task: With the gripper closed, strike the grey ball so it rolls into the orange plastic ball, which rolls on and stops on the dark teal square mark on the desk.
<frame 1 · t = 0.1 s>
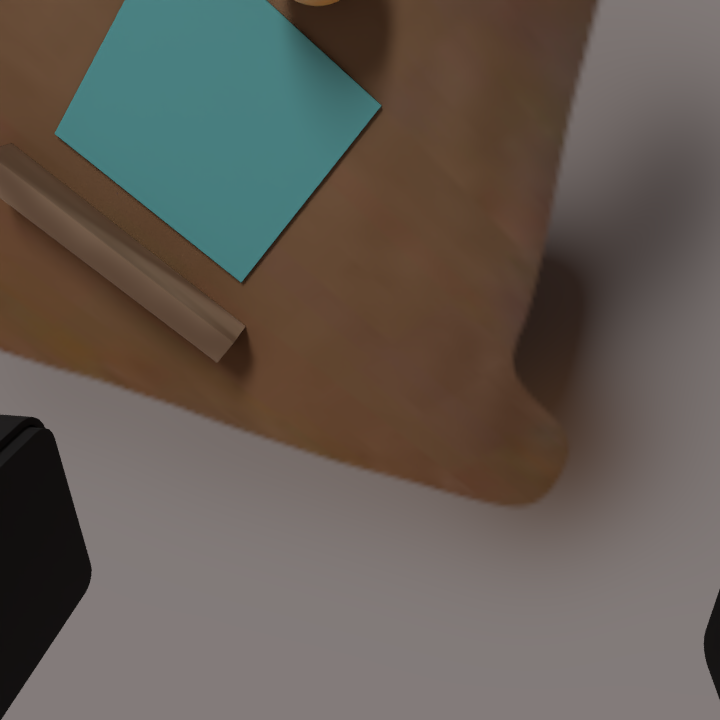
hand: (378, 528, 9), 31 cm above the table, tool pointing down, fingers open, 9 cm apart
teal mark: (211, 119, 38), on the table
wooden bar: (126, 249, 42), on the table
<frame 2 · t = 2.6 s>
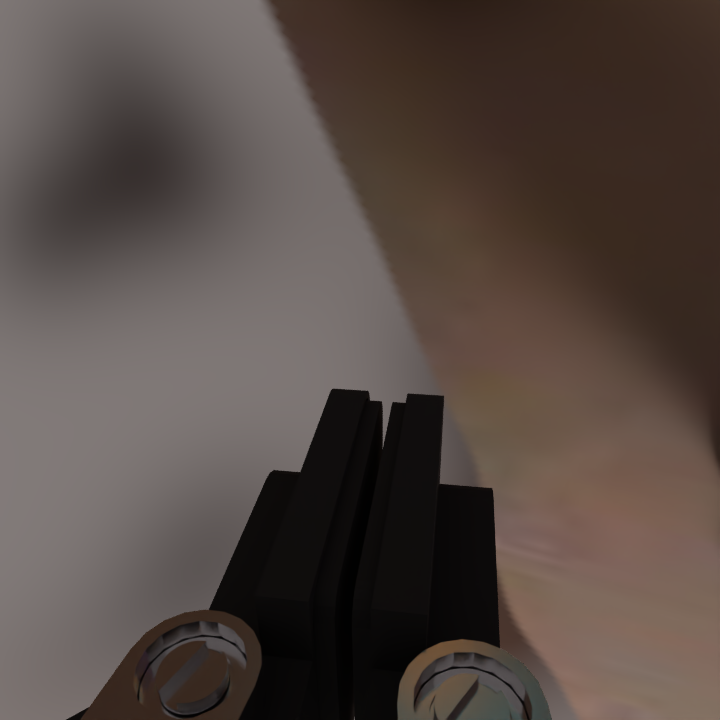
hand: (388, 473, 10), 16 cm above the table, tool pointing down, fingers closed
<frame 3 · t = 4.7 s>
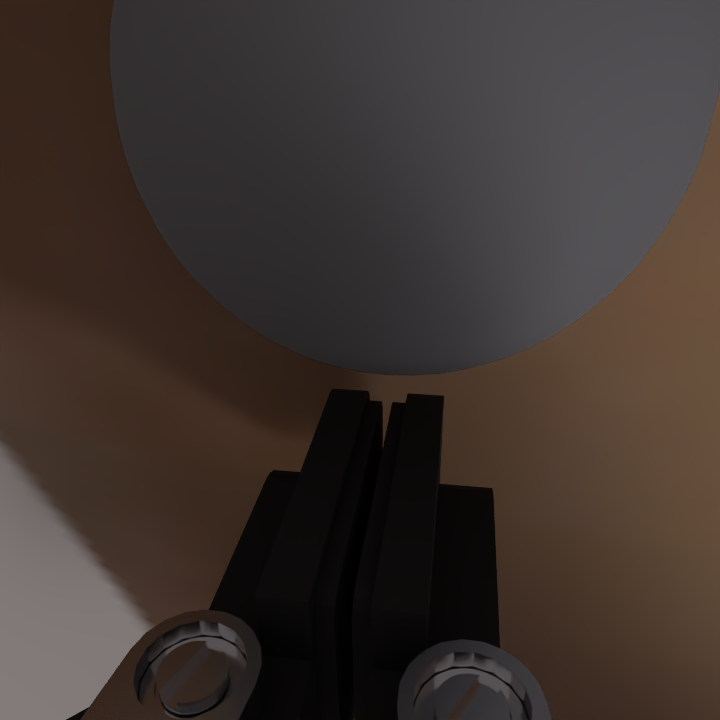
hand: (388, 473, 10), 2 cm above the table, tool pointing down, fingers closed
grey ball: (406, 97, 6), on the table
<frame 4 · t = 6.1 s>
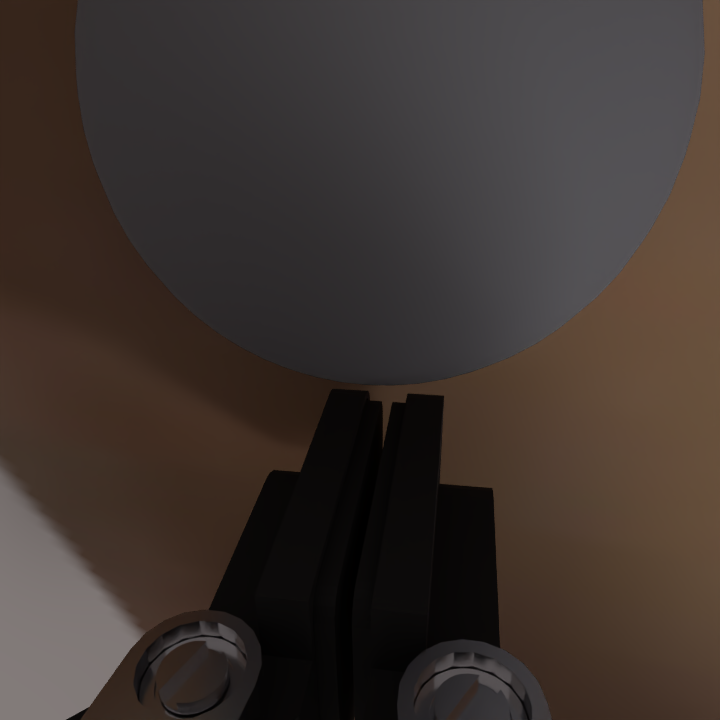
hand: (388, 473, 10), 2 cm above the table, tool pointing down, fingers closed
grey ball: (384, 101, 6), on the table
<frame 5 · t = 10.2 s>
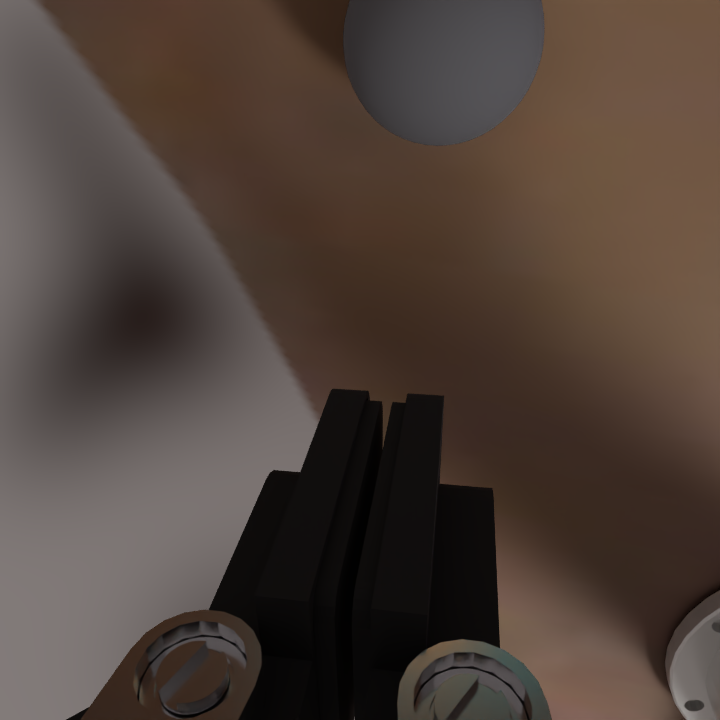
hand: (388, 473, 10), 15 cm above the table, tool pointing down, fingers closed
grey ball: (441, 41, 18), on the table
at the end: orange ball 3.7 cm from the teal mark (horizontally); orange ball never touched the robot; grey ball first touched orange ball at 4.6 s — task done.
